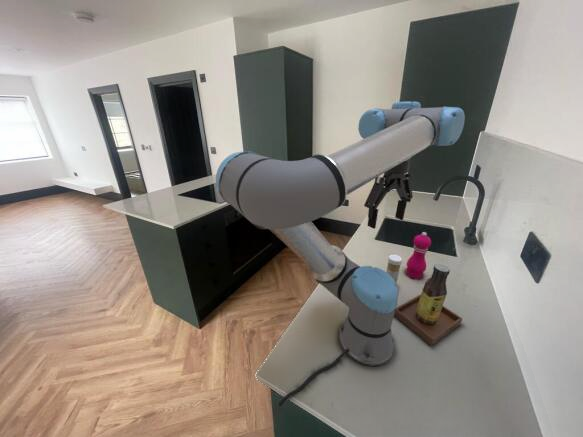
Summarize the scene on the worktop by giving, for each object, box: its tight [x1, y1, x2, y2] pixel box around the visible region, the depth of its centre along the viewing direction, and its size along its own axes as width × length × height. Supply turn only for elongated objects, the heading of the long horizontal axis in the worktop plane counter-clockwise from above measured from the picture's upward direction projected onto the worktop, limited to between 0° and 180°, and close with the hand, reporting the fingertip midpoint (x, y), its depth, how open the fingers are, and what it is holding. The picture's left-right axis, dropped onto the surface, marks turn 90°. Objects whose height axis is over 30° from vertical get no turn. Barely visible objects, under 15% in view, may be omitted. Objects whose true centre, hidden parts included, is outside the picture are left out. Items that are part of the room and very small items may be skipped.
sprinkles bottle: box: [385, 254, 403, 284], centre depth 88 cm, size 5×5×13 cm
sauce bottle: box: [416, 263, 451, 324], centre depth 71 cm, size 7×6×20 cm
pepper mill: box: [405, 231, 432, 280], centre depth 93 cm, size 7×7×20 cm
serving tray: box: [394, 293, 463, 347], centre depth 75 cm, size 15×13×3 cm
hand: (385, 222), depth 78 cm, fingers open, 13 cm apart
